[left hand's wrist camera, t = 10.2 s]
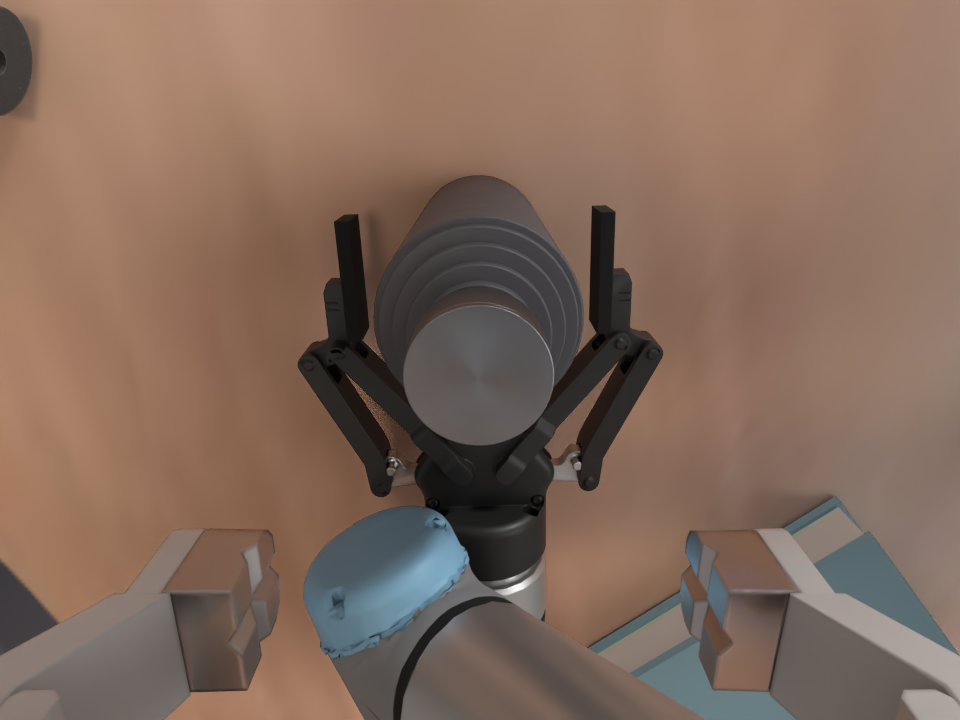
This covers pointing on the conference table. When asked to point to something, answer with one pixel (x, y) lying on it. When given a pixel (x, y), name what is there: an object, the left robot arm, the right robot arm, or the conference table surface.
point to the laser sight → (13, 61)
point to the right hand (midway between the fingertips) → (474, 212)
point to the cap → (478, 367)
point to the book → (843, 564)
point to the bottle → (478, 267)
